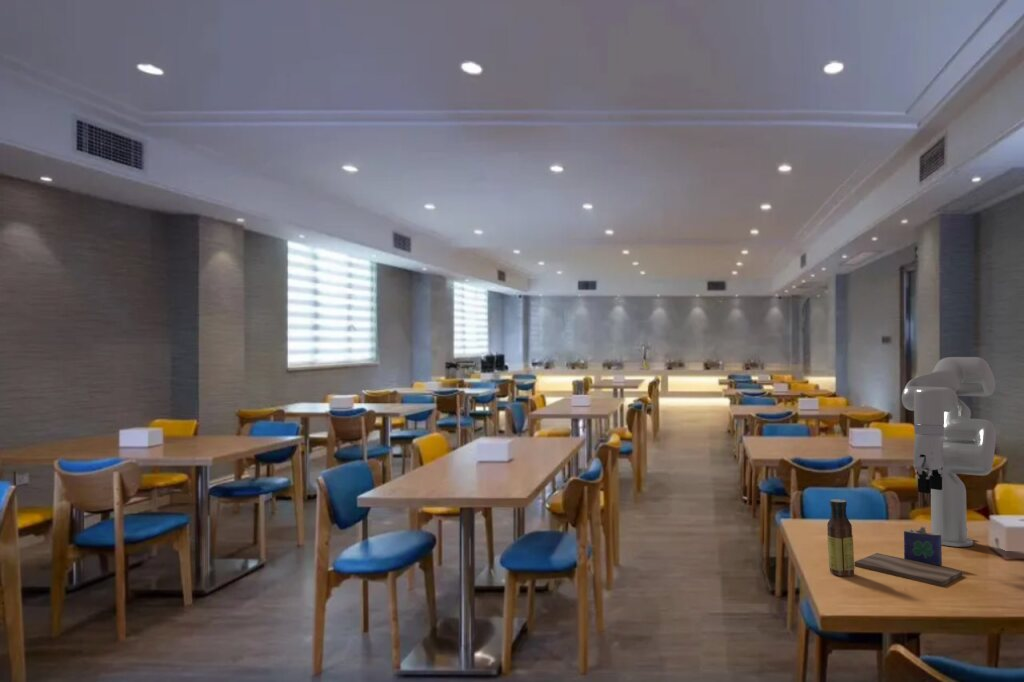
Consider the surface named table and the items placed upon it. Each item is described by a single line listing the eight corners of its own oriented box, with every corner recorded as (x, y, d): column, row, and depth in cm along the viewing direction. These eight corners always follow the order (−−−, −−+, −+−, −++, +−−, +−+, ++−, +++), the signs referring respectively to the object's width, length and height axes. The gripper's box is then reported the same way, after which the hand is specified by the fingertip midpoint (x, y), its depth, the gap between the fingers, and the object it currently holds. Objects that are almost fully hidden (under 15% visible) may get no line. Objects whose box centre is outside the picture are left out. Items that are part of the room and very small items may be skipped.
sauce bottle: (852, 571, 185) (851, 498, 186) (856, 578, 179) (855, 503, 180) (826, 569, 187) (825, 497, 188) (829, 576, 181) (828, 501, 182)
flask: (941, 564, 191) (940, 526, 192) (942, 567, 189) (941, 529, 189) (903, 560, 195) (903, 523, 196) (904, 563, 193) (904, 525, 193)
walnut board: (876, 556, 199) (876, 552, 199) (962, 575, 182) (962, 571, 182) (854, 566, 190) (854, 561, 190) (942, 586, 173) (941, 581, 173)
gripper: (927, 427, 206) (928, 485, 205) (902, 431, 195) (903, 492, 195) (955, 429, 200) (956, 489, 200) (931, 433, 189) (932, 496, 189)
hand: (930, 490), depth 197 cm, fingers open, 7 cm apart
